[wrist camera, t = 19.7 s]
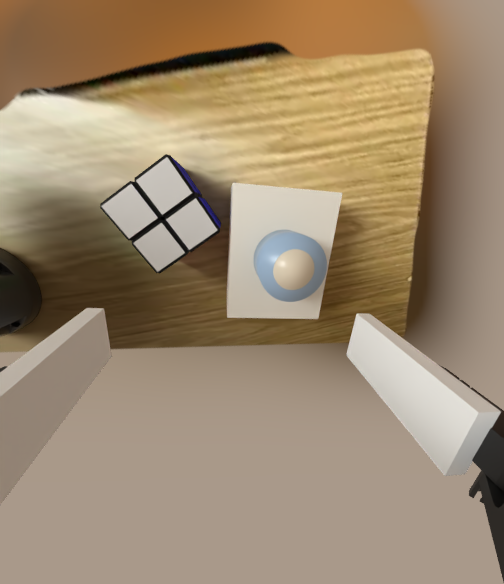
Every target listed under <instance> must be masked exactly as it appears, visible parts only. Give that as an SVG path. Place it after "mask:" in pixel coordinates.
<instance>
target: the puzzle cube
mask: <svg viewBox="0 0 504 584" xmlns="http://www.w3.org/2000/svg"><path fill="white" fill-rule="evenodd" d="M100 208H101V209H102V210H103V212H104V213H105V214H106V215H107V216H108V217H109V218H110V220H111V221H112V222H113V223H114V224H115V225H116V227H117V228H118V229H119V230H120V231H121V232H122V234H123V235H124V236H125V237H126V238H127V239H128V240H131V241H132V245H133V246H134V247H135V249H136V250H137V251H138V252H139V253H140V254H141V256H142V257H143V258H144V259H145V260H146V261H147V263H148V264H149V265H150V266H151V267H152V268H153V269H154V271H155V272H156V273H161V272H163V271H164V270H165V269H167V268H168V267H170V266H171V265H173V264H174V263H176V262H177V261H178V260H180V259H181V258H183V257H184V256H186V255H187V254H188V253H189V251H190V252H192V251H193V250H195V249H196V248H198V247H199V246H200V245H202V244H203V243H205V242H206V241H208V240H209V239H210V238H212V237H213V236H215V235H216V234H218V233H219V232H220V226H221V222H220V221H219V219H218V218H217V217H216V215H215V214H214V212H213V211H212V209H211V208H210V206H209V205H208V203H207V202H206V200H205V199H204V198H202V194H201V193H200V192H199V190H198V189H197V187H196V186H195V184H194V183H193V181H192V180H191V178H190V177H189V175H188V174H187V172H186V171H185V169H184V168H183V167H182V166H181V165H180V164H179V163H178V162H177V161H175V160H174V159H173V158H172V157H171V156H170V155H164V156H163V157H162V158H160V159H159V160H158V161H156V162H155V163H154V164H153V165H151V166H150V167H149V168H147V169H146V170H145V171H143V172H142V173H141V174H139V175H138V176H137V177H135V182H132V181H130V182H129V183H127V184H126V185H125V186H123V187H122V188H121V189H119V190H118V191H117V192H115V193H114V194H113V195H111V196H110V197H109V198H107V199H106V200H105V201H104V202H102V203H101V204H100Z"/></svg>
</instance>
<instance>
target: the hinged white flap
mask: <svg viewBox="0 0 504 584" xmlns="http://www.w3.org/2000/svg"><path fill="white" fill-rule="evenodd" d="M341 197H342V193H338V192H327V191H317V190H306V189H295V188H284V187H274V186H263V185H252V184H241V183H233V187H232V211H231V235H230V259H229V283H228V307H227V318H287V319H318V317H319V312H320V307H321V302H322V297H323V291H324V286H325V281H326V276H327V271H326V275H325V278H324V280H323V282H322V284H321V285H320V287H319V288H318V289H317V290H316V291H315V292H314V293H313V294H312V295H310V296H309V297H307V298H305V299H303V300H300V301H295V302H285V301H281V300H278V299H276V298H274V297H272V296H271V295H270V294H269V293H268V292H267V291H266V290H265V289H264V287H263V285H262V283H261V281H260V279H259V277H258V275H257V273H256V271H255V268H254V253H255V250H256V247H257V246H258V244H259V242H260V241H261V240H262V239H263V238H264V237H265V236H266V235H268V234H270V233H271V232H274V231H277V230H291V231H294V232H297V233H300V234H302V235H305V236H308V237H310V238H312V239H314V240H315V241H316V242H317V243H319V245H320V246H321V247H322V249H323V250H324V253H325V255H326V259H327V270H328V265H329V260H330V255H331V250H332V244H333V239H334V234H335V229H336V224H337V218H338V213H339V208H340V203H341Z"/></svg>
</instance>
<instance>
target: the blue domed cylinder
mask: <svg viewBox="0 0 504 584" xmlns="http://www.w3.org/2000/svg"><path fill="white" fill-rule="evenodd" d="M254 268H255V271H256V273H257V275H258V277H259V279H260V281H261V283H262V285H263V287H264V289H265V290H266V291H267V292H268V293H269V294H270V295H271V296H272V297H274V298H276V299H278V300H281V301H285V302H295V301H300V300H303V299H305V298H307V297H309V296H310V295H312V294H313V293H314V292H315V291H316V290H317V289H318V288H319V287H320V285H321V284H322V282H323V280H324V278H325V275H326V271H327V259H326V255H325V253H324V250H323V249H322V247H321V246H320V245H319V243H317V242H316V241H315V240H314V239H312V238H310V237H308V236H305V235H302V234H300V233H297V232H294V231H291V230H277V231H274V232H271V233H270V234H268V235H266V236H265V237H264V238H263V239H262V240H261V241H260V242H259V244H258V246H257V247H256V250H255V253H254Z"/></svg>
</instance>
